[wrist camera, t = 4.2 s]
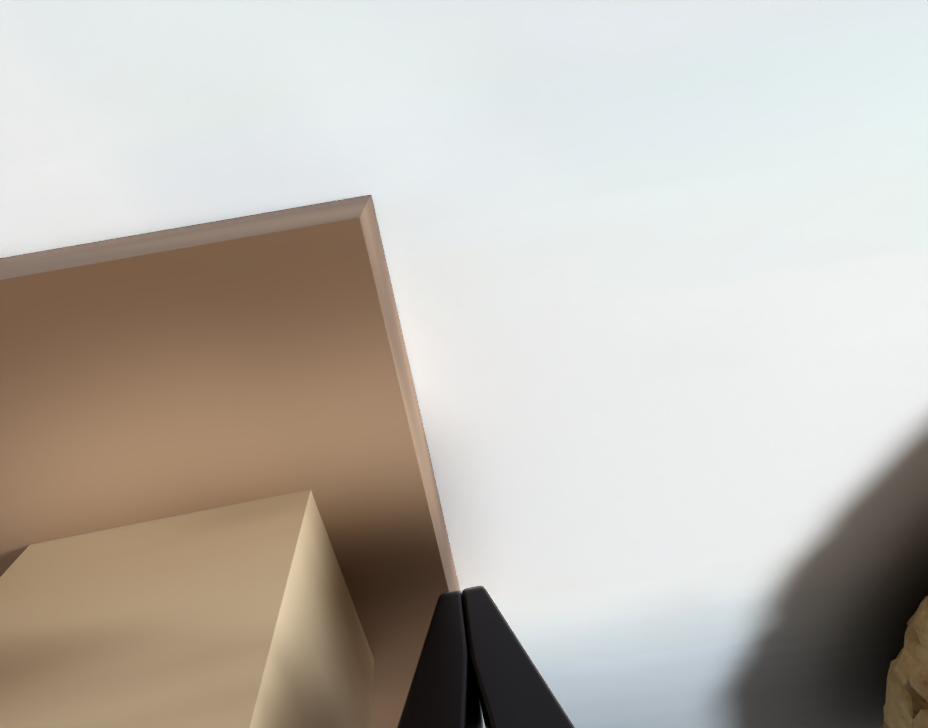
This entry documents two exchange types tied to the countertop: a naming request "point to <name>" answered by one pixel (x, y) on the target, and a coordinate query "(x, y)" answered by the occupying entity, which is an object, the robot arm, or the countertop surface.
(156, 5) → the countertop surface
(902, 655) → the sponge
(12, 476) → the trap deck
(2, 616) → the maple block
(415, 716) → the robot arm
